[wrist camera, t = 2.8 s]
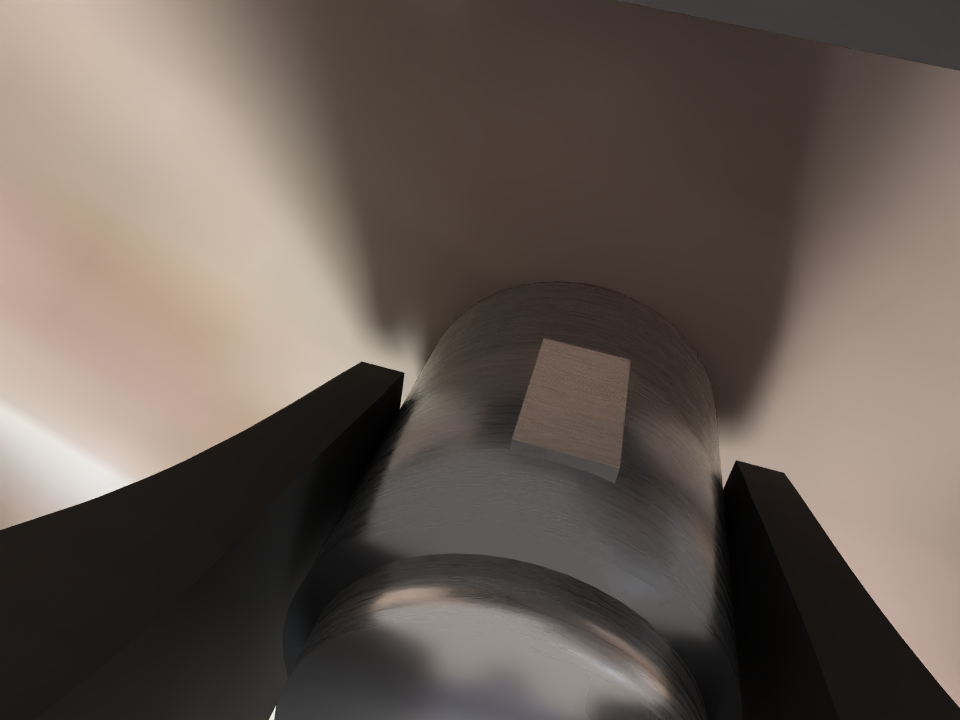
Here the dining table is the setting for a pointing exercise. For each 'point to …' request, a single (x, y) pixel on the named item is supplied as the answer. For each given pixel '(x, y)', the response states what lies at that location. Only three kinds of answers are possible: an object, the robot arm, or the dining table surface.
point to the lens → (531, 532)
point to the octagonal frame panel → (844, 23)
